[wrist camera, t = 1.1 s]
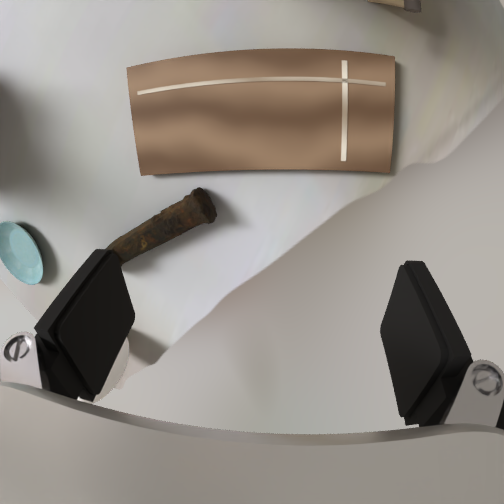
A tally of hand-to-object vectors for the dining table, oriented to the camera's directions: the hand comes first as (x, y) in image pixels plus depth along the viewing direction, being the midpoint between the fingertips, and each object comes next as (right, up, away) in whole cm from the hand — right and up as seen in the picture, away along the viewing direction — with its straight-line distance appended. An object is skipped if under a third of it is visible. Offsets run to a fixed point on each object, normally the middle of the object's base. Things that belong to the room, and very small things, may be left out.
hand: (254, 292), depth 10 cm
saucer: (-37, +2, +31) cm, 49 cm away
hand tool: (-12, +4, +28) cm, 30 cm away
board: (+1, +15, +18) cm, 24 cm away
